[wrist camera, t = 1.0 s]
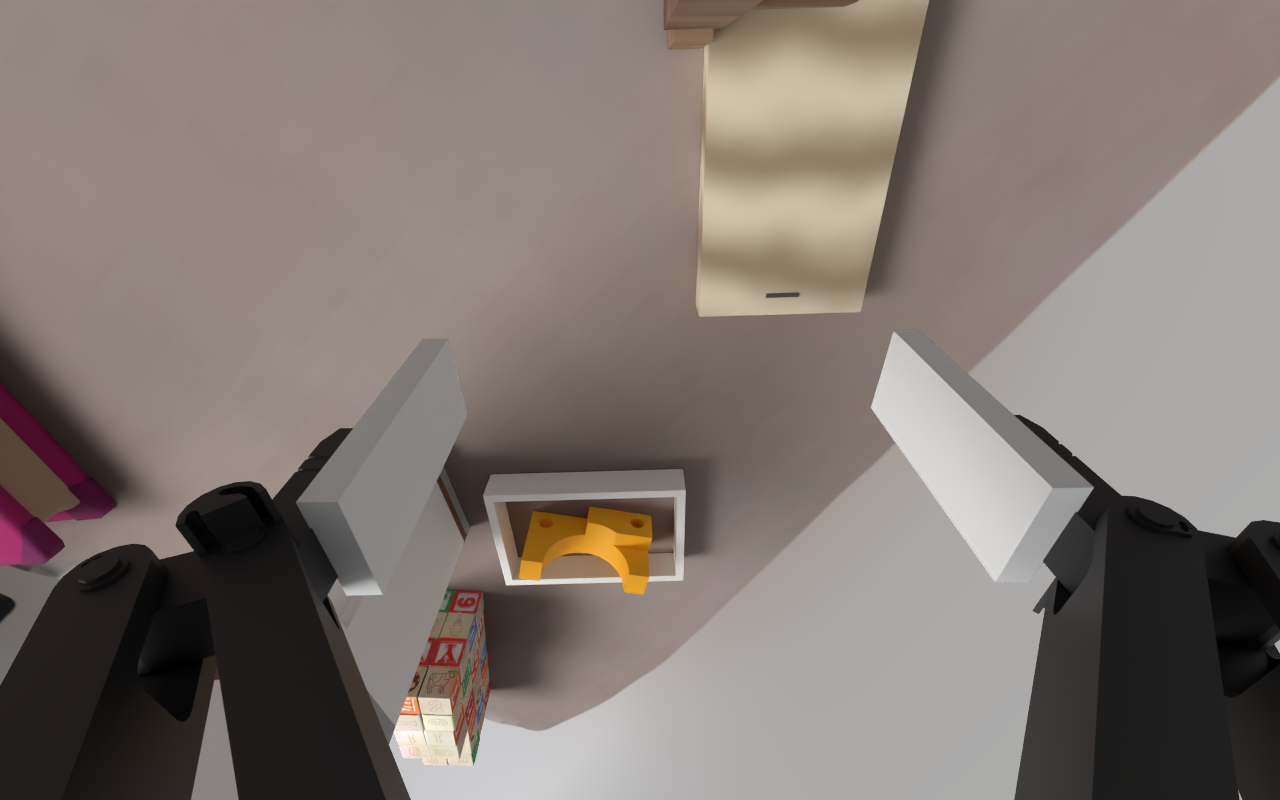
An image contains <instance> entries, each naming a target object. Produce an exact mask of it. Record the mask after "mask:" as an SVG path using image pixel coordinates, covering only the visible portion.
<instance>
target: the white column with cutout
mask: <svg viewBox="0 0 1280 800" xmlns="http://www.w3.org/2000/svg"><path fill="white" fill-rule="evenodd" d="M469 528H470V526H469V523H468V521H467V519H466V517H465V514H464V512H463V510H462V507H461V505H460V503H459V500H458V498H457V496H456V494H455V491H454V489H453V487H452V484H451V482H450V480H449V478H448V475H447V473H446V471H445V468H444V467H443V469H442V471H441V473H440V475H439V477H438V479H437V481H436V483H435V486H434V488H433V490H432V492H431V494H430V496H429V498H428V500H427V502H426V505H425V507H424V509H423V511H422V513H421V515H420V517H419V519H418V521H417V524H416V526H415V528H414V530H413V532H412V534H411V536H410V538H409V540H408V543H407V545H406V547H405V549H404V551H403V553H402V555H401V557H400V559H399V562H398V564H397V566H396V568H395V570H394V572H393V574H392V576H391V578H390V580H389V583H388V585H387V587H386V589H385V591H384V593H383V595H351V596H347V595H346V594H345V592H344V590H343V588H342V586H341V584H340V583H339V581H338V579H336V581H335V583H334V585H333V586H332V588H331V590H330V591H329V593H328V597H329V598H330V600H331V602H332V604H333V606H334V609H335V611H336V614H337V616H338V619H339V621H340V624H341V626H342V629H343V631H344V634H345V636H346V639H347V641H348V644H349V646H350V649H351V651H352V654H353V656H354V659H355V661H356V664H357V666H358V669H359V671H360V674H361V676H362V679H363V681H364V684H365V686H366V689H367V691H368V694H369V696H370V699H371V701H372V704H373V706H374V709H375V712H376V714H377V717H378V719H379V722H380V724H381V727H382V729H383V732H384V734H385V737H386V739H387V742H388V744H389V742H390V740H391V737H392V734H393V732H394V729H395V726H396V724H397V721H398V718H399V716H400V713H401V710H402V708H403V705H404V702H405V700H406V697H407V694H408V692H409V689H410V686H411V684H412V681H413V678H414V676H415V673H416V670H417V668H418V665H419V662H420V660H421V657H422V654H423V651H424V649H425V646H426V643H427V641H428V638H429V635H430V633H431V630H432V627H433V625H434V622H435V619H436V617H437V614H438V611H439V609H440V606H441V603H442V601H443V598H444V595H445V593H446V590H447V587H448V585H449V582H450V579H451V577H452V574H453V571H454V569H455V566H456V563H457V560H458V558H459V555H460V552H461V550H462V547H463V544H464V542H465V539H466V536H467V534H468V531H469ZM191 800H239V799H238V793H237V787H236V780H235V774H234V768H233V762H232V755H231V749H230V743H229V737H228V731H227V724H226V718H225V712H224V706H223V699H222V693H221V687H220V681H219V674H218V668H217V669H216V674H215V679H214V684H213V689H212V695H211V700H210V705H209V710H208V715H207V720H206V725H205V730H204V736H203V741H202V746H201V751H200V756H199V761H198V766H197V771H196V777H195V782H194V787H193V792H192V797H191Z"/></svg>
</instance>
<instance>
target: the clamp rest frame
mask: <svg viewBox="0 0 1280 800" xmlns="http://www.w3.org/2000/svg"><path fill="white" fill-rule="evenodd" d="M656 497H674V553H652V554H649V580H648V581H683V570H684V535H685V500H686V488H685V481H684V473H683V469H664V470H629V471H594V472H559V473H524V474H491V475H490V478H489V481H488V483H487V486H486V489H485V492H484V494H483V498H484V502H485V506H486V510H487V514H488V517H489V521H490V525H491V529H492V533H493V537H494V540H495V544H496V548H497V552H498V556H499V560H500V563H501V567H502V571H503V575H504V579H505V583H506V585H538V584H574V583H610V582H622V579H621V577H620V575H619V573H618V572H617V571H616V569H615V568H614V567H613V566H612V565H611V564H610V563H608V562H607V561H606V560H604V559H602V558H600V557H598V556H596V555H580V556H560V557H558V558H556V559H555V560H553V561H552V562H551V563H549V564H548V565H547V567H546V568H545V569H544V571H543V573H542V575H541V577H540V581H535V580H528V579H520V578H519V574H520V566H521V559H522V557H518V554H517V550H516V545H515V541H514V537H513V532H512V528H511V524H510V519H509V515H508V511H507V506H506V502H515V501H551V500H586V499H621V498H656Z"/></svg>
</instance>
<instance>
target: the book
mask: <svg viewBox="0 0 1280 800" xmlns="http://www.w3.org/2000/svg"><path fill="white" fill-rule="evenodd" d="M114 507H115V503H114V500H113V499H112V498H111V497H110V496H109V495H108V494H107V493H106V492H105V491H104V490H103V488H102V487H101V486H100V485H99V484H98V483H97V482H96V481H95V480H94V479H93V478H92V479H91V478H90V477H89V476H88V475H87V474H86V473H85V472H84V471H83V470H82V468H81V467H80V466H79V465H78V464H77V463H76V462H75V461H74V460H73V459H72V458H71V457H70V456H69V454H68V453H67V452H66V451H65V450H64V449H63V448H62V447H61V446H60V445H59V444H58V443H57V442H56V440H55V439H54V438H53V437H52V436H51V435H50V434H49V433H48V432H47V431H46V430H45V429H44V427H43V426H42V425H41V424H40V423H39V422H38V421H37V420H36V419H35V418H34V417H33V416H32V415H31V413H30V412H29V411H28V410H27V409H26V408H25V407H24V406H23V405H22V404H21V403H20V402H19V401H18V399H17V398H16V397H15V396H14V395H13V394H12V393H11V392H10V391H9V390H8V389H7V388H6V386H5V385H4V384H3V383H2V382H1V381H0V566H3V565H13V564H21V566H23V565H34V564H44V563H46V562H47V561H49V560H50V559H51V558H52V557H54V556H55V555H56V554H57V553H58V552H60V551H61V550H62V549H63V548H64V547H65V545H64V543H63V541H62V540H61V539H60V538H59V537H58V536H57V535H56V534H55V533H54V532H53V531H52V530H51V529H50V528H48V527H47V526H46V525H45V524H44V522H51V521H61V520H71V519H76V520H77V521H78V520H87V519H97V518H102V517H103V516H104V515H106V514H107V513H108V512H109V511H111V510H112V509H113V508H114Z"/></svg>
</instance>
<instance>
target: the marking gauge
mask: <svg viewBox="0 0 1280 800" xmlns="http://www.w3.org/2000/svg"><path fill="white" fill-rule="evenodd" d="M858 1H859V0H664V30H667V49H694V48H702V47H703V46H705V45H707V44H708V43H710V42H711V41H713V28H724V27H725V26H727V25H728V24H730V23H731V22H733V21H734V20H735V19H737V18H738V17H740V16H741V15H743V14H744V13H746V12H747V11H748V10H763V9H794V8H824V7H845V6H848V5H850V4H853V3H855V2H858Z"/></svg>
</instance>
